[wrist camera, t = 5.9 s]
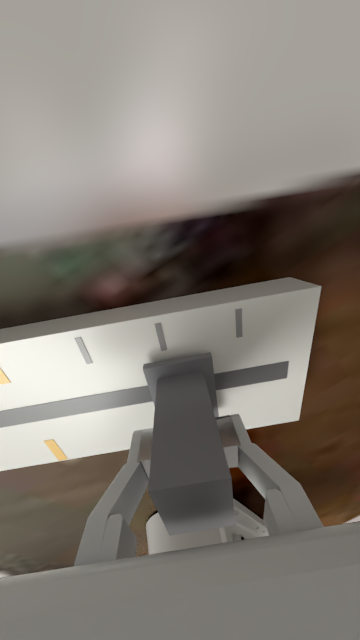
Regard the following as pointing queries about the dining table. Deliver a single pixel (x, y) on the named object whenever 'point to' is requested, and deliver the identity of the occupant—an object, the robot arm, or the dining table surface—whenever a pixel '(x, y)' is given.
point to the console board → (146, 347)
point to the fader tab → (188, 447)
